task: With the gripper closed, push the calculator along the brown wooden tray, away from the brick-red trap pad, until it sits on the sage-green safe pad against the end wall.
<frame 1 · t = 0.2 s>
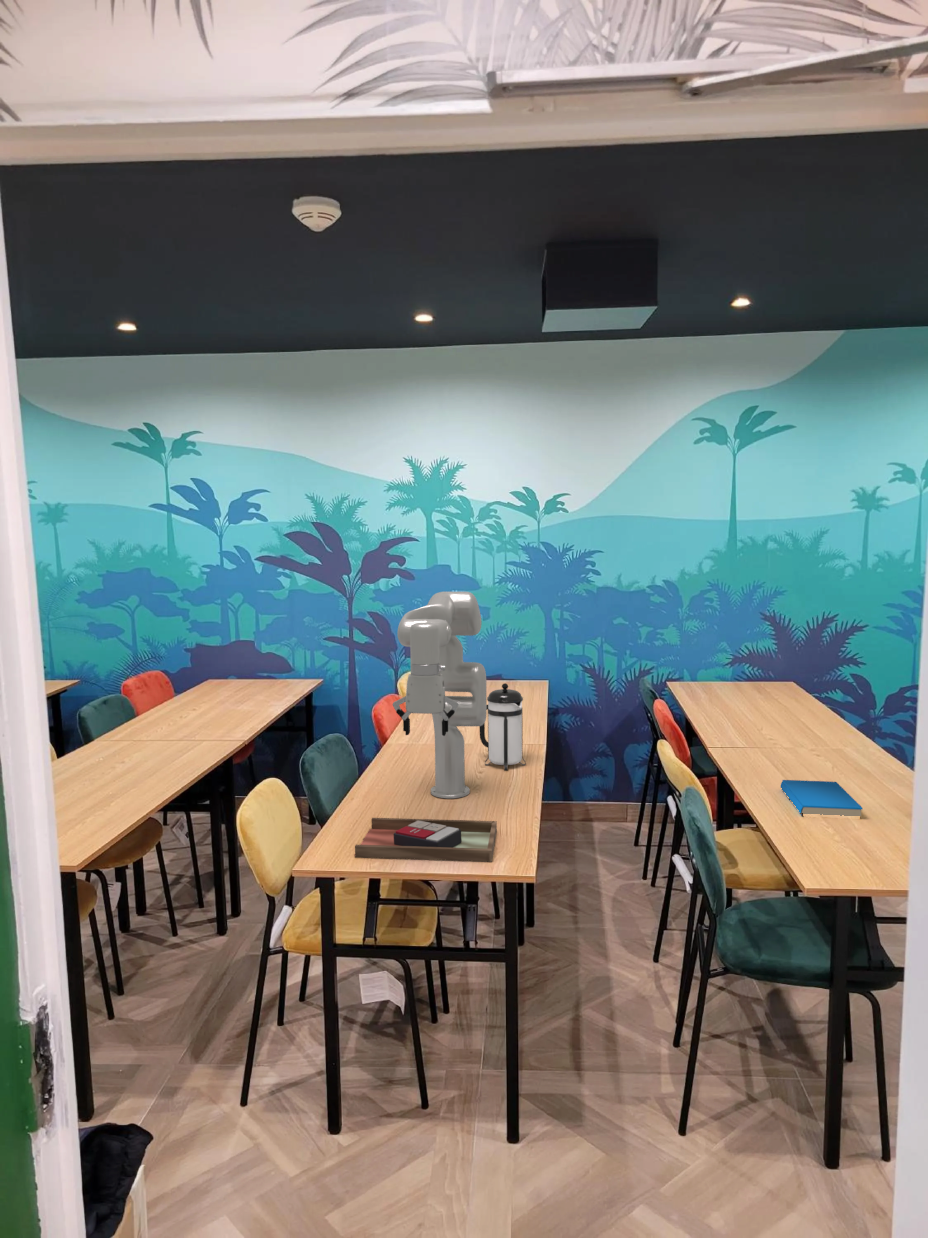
hand: (425, 734, 208), 31 cm above the table, tool pointing down, fingers open, 9 cm apart
calculator: (427, 844, 213), resting in brown wooden tray
brown wooden tray: (427, 844, 213), on the table
coffee press: (501, 765, 287), on the table
book: (818, 806, 242), on the table
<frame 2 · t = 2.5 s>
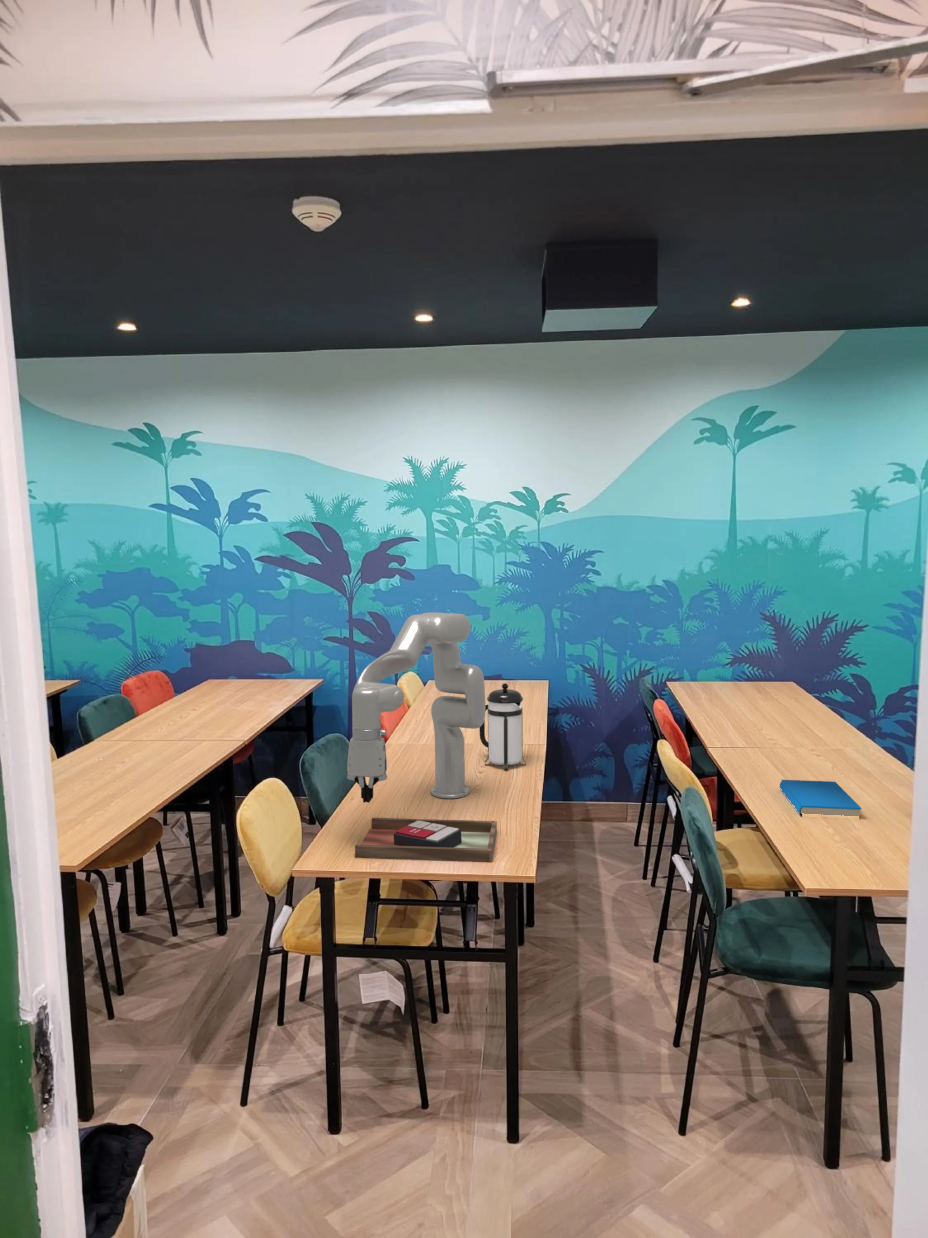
hand: (367, 801, 213), 12 cm above the table, tool pointing down, fingers closed
nothing on the table moved.
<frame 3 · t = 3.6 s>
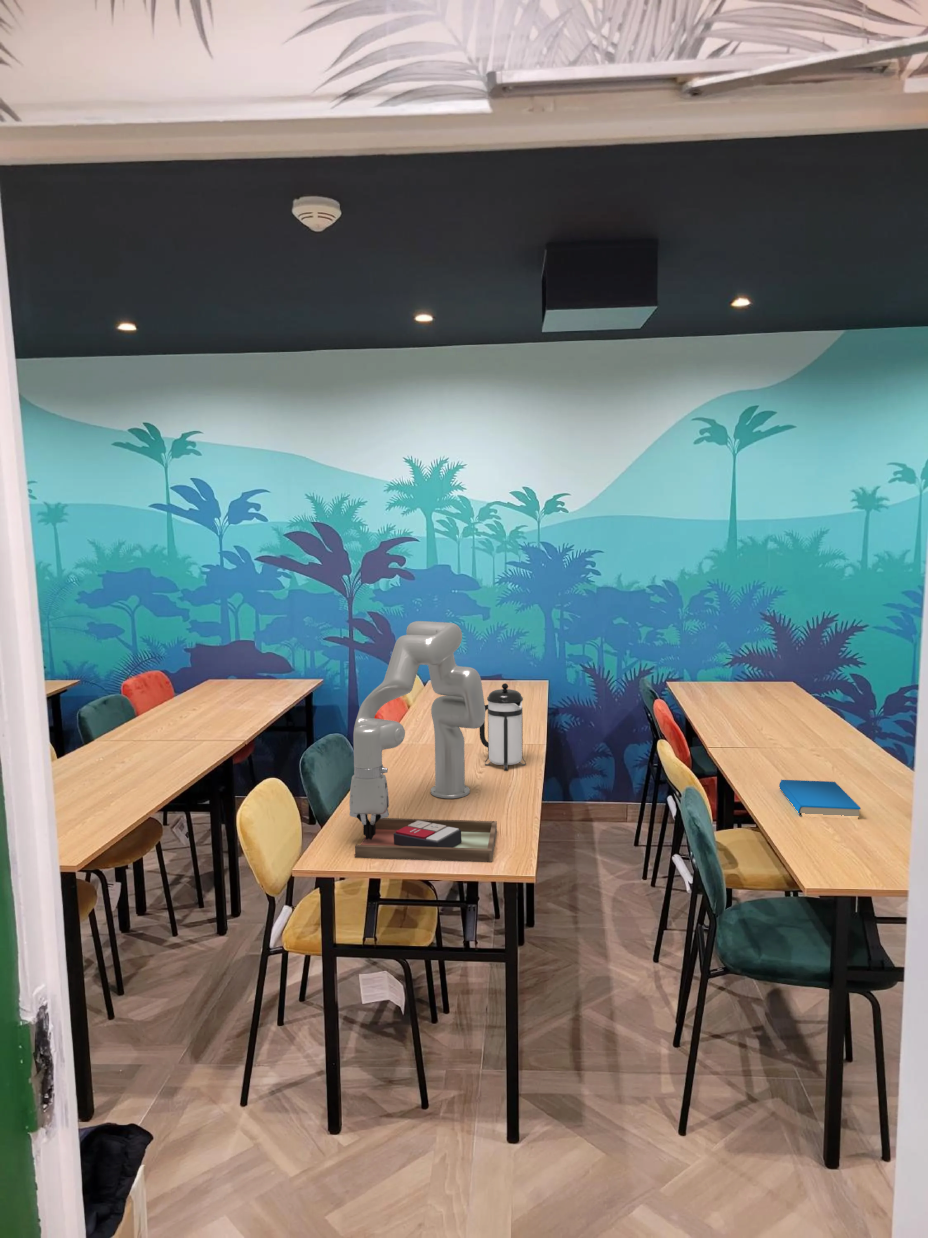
hand: (369, 837, 214), 1 cm above the table, tool pointing down, fingers closed
nothing on the table moved.
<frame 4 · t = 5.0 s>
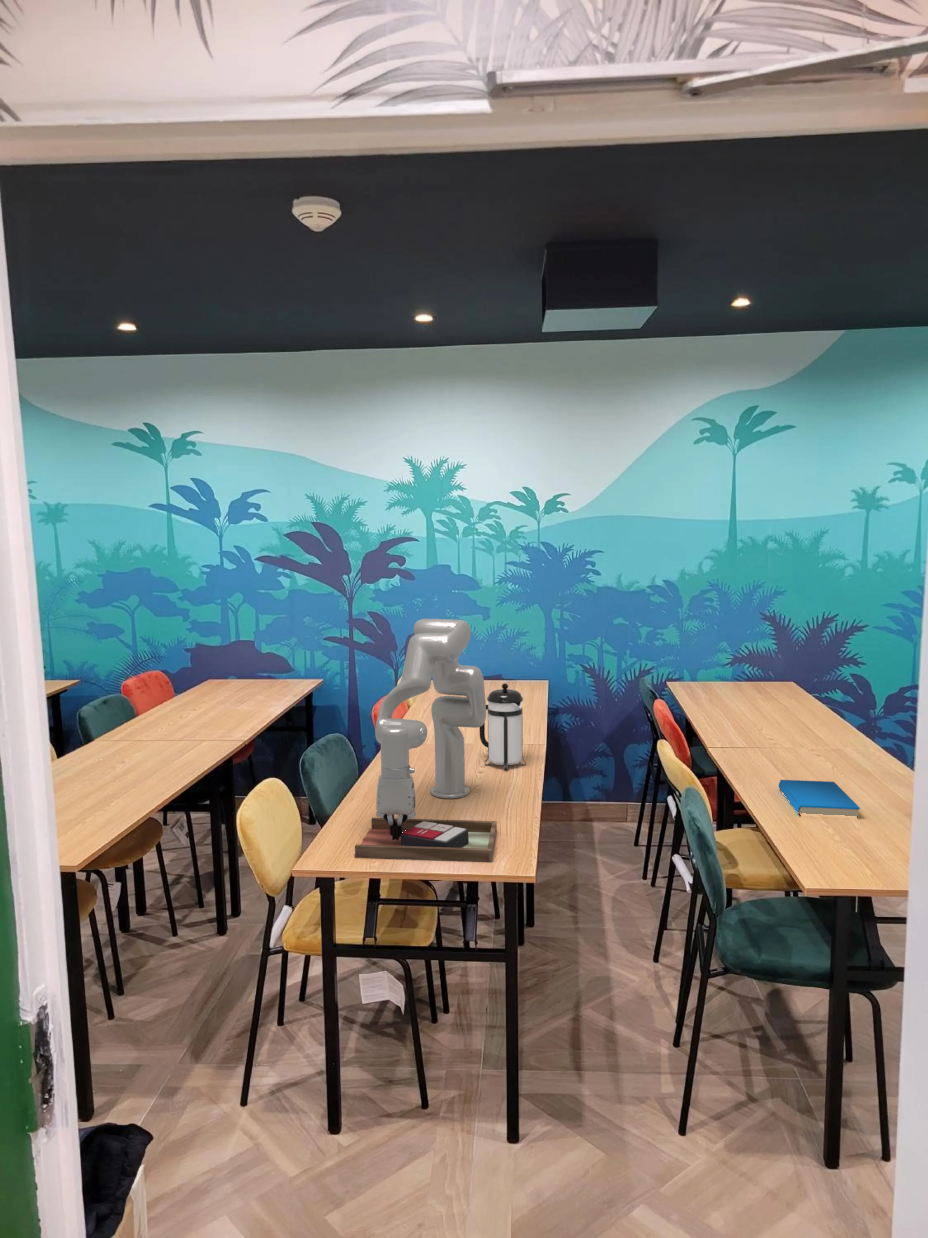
hand: (396, 838, 214), 1 cm above the table, tool pointing down, fingers closed
calculator: (434, 845, 212), resting in brown wooden tray, touching gripper
everything else where it was.
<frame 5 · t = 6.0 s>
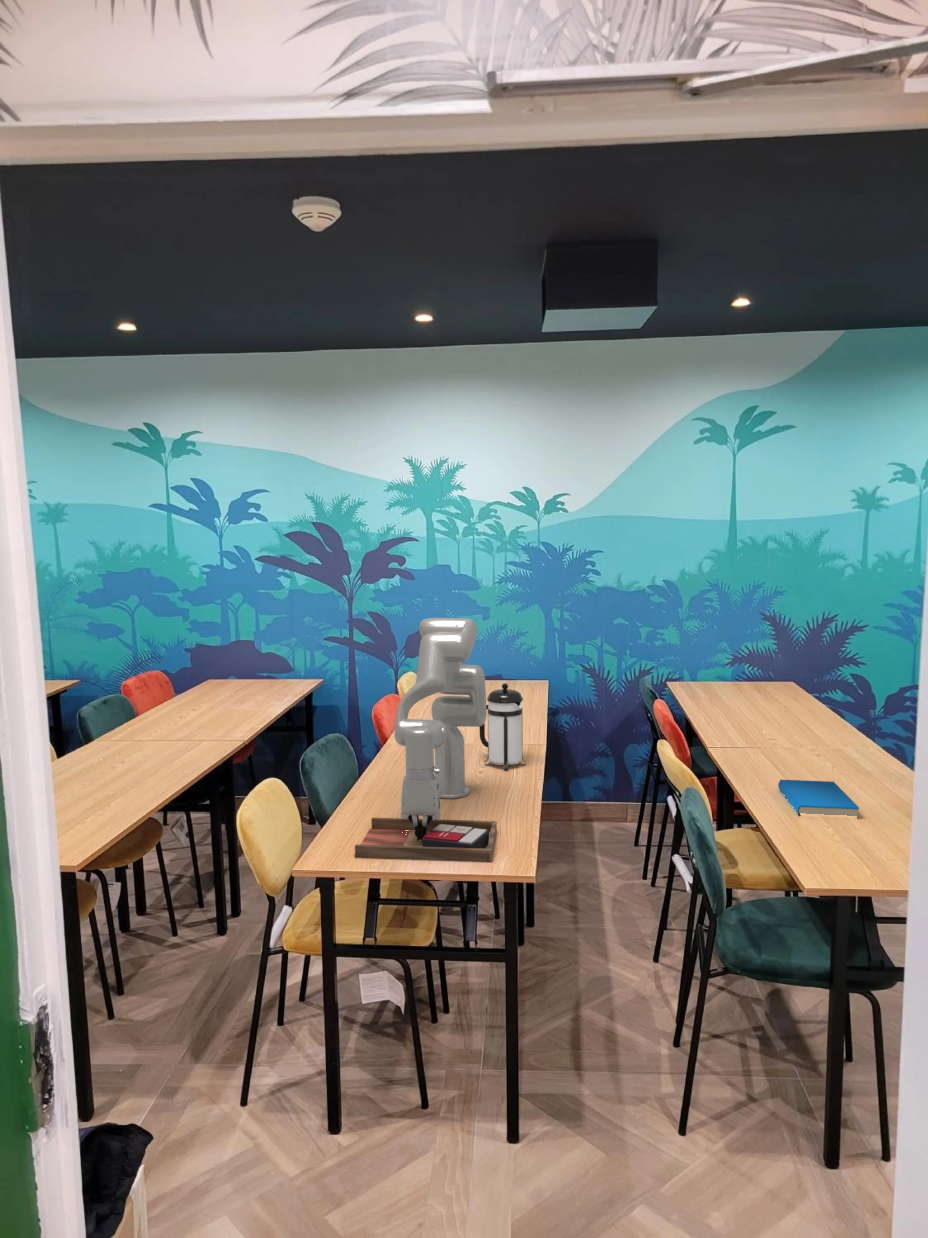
hand: (420, 839, 213), 1 cm above the table, tool pointing down, fingers closed
calculator: (455, 847, 211), resting in brown wooden tray
everything else where it was.
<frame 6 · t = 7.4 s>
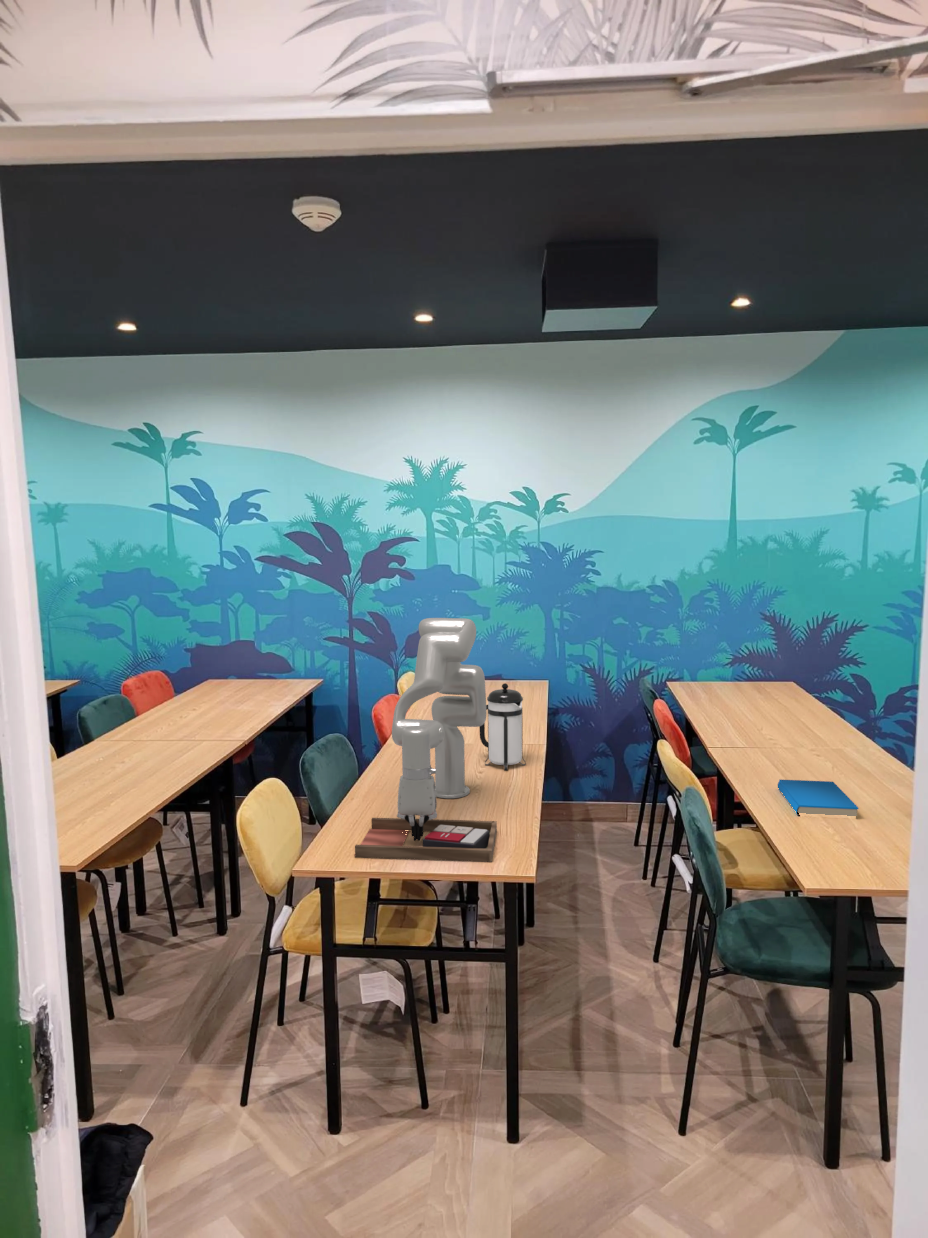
hand: (417, 839, 213), 1 cm above the table, tool pointing down, fingers closed
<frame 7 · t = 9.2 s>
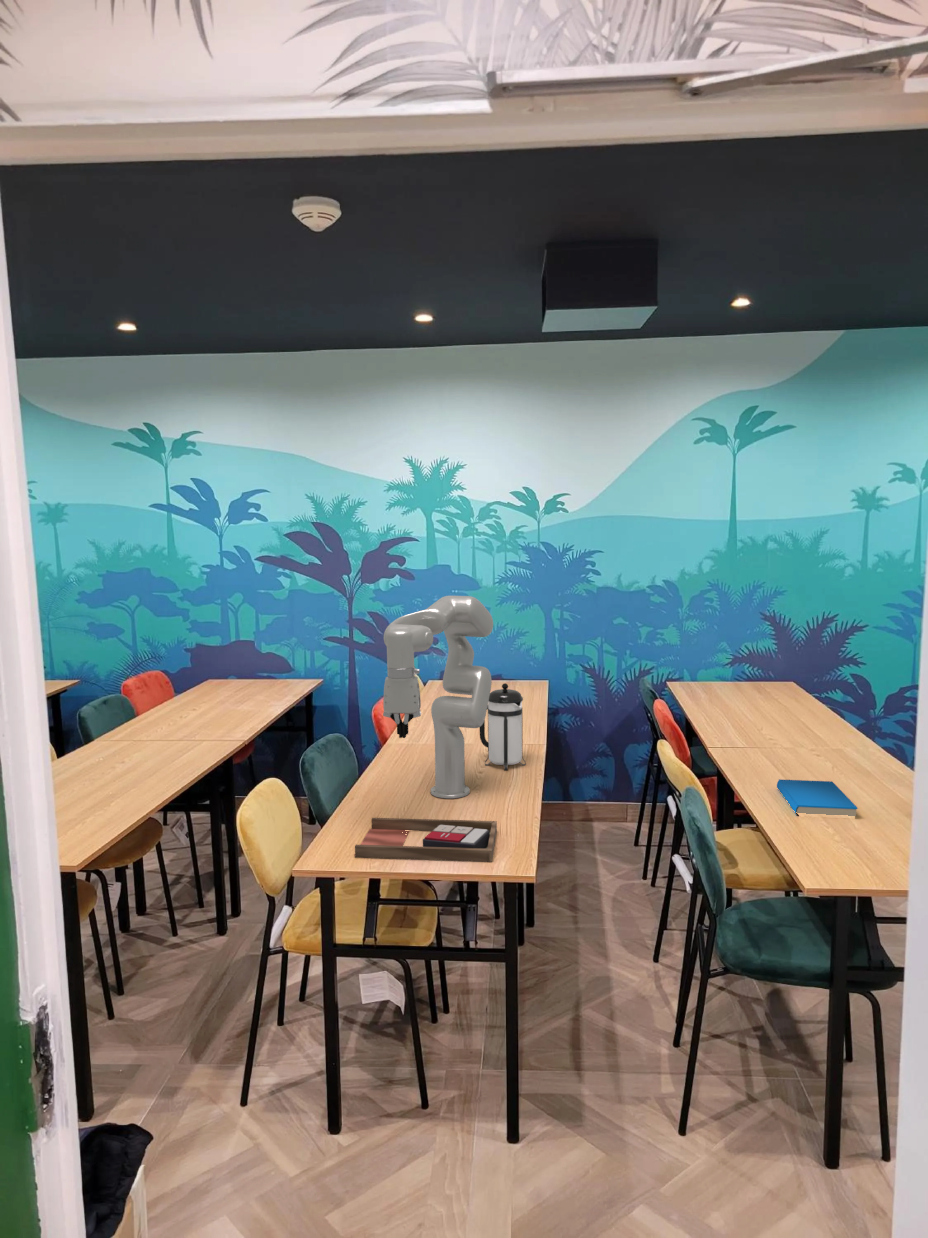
hand: (402, 736, 224), 26 cm above the table, tool pointing down, fingers closed
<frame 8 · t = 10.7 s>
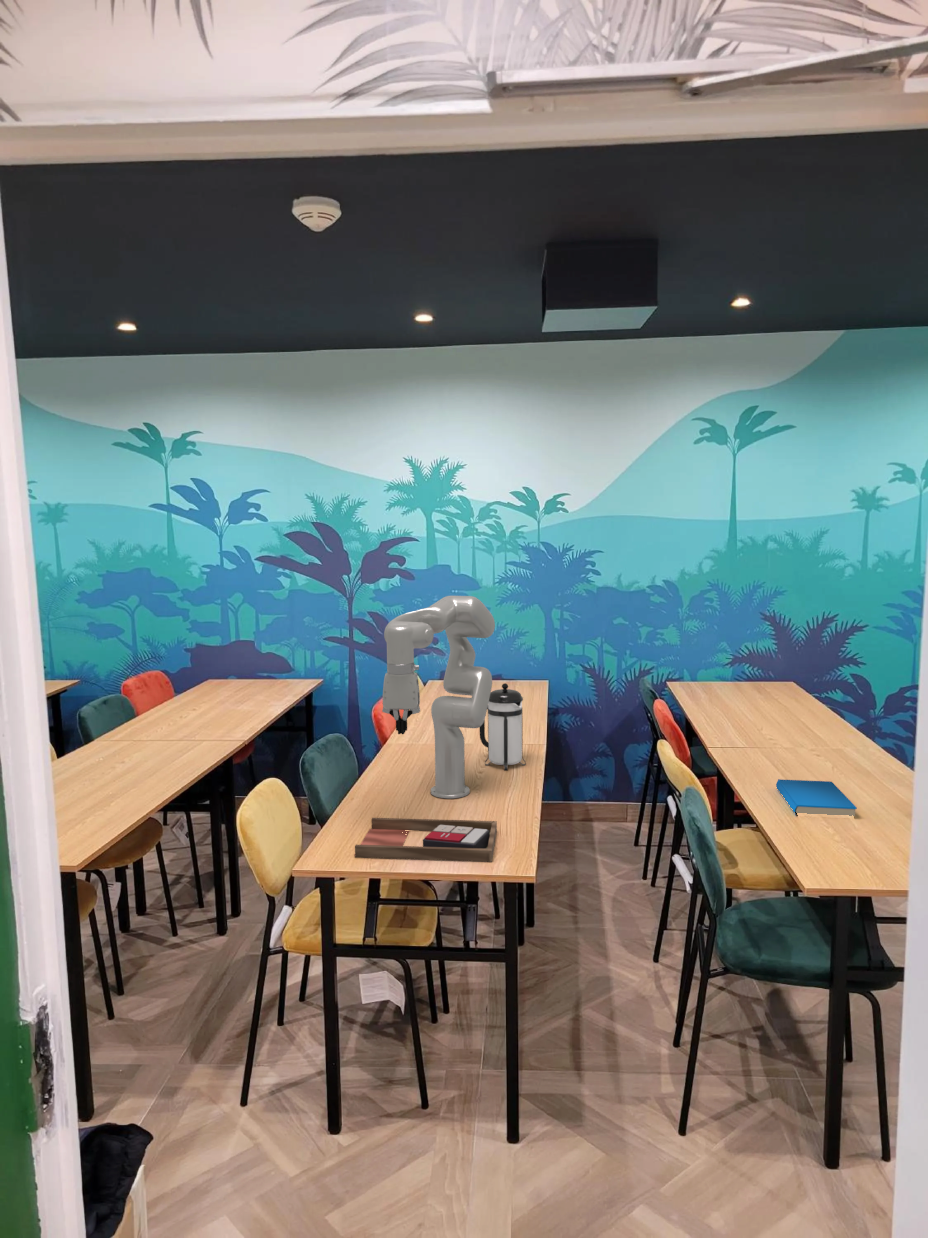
hand: (401, 733, 224), 27 cm above the table, tool pointing down, fingers closed
at the end: calculator inside the target area on the brown wooden tray (2.9 cm from its centre), point 0.0 cm above the brown wooden tray's base; calculator tilted 0° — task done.
